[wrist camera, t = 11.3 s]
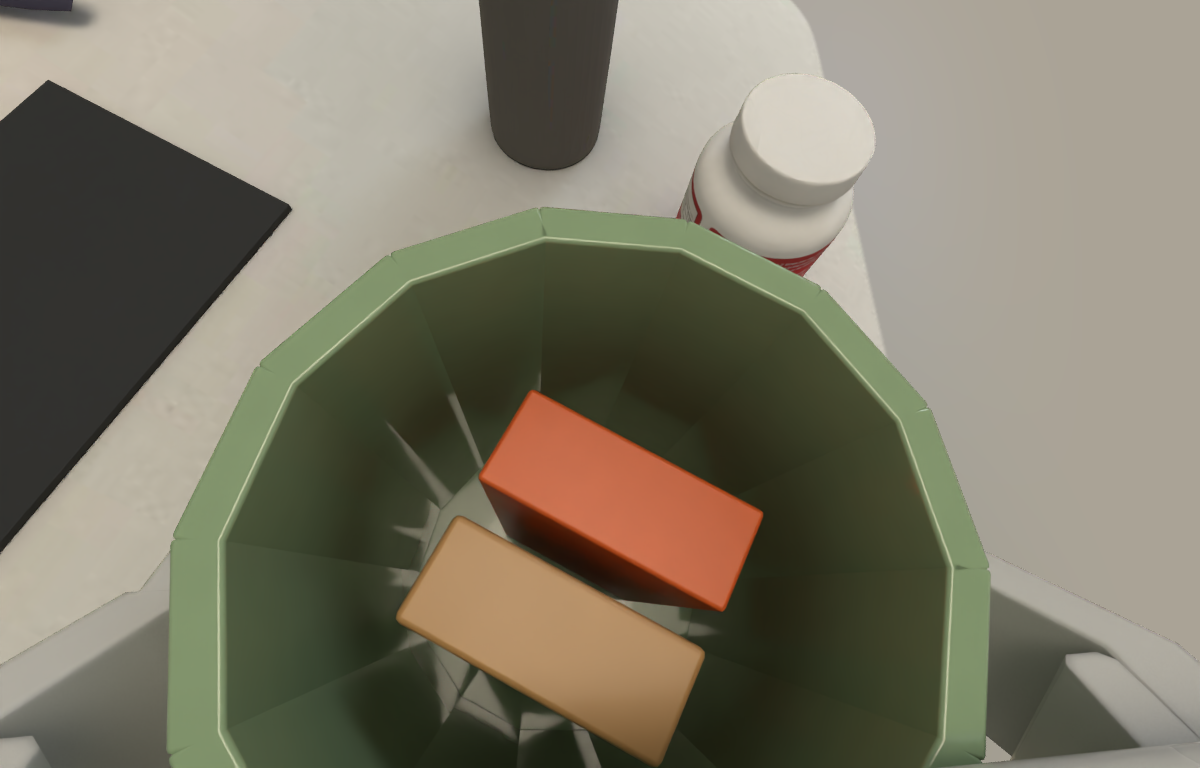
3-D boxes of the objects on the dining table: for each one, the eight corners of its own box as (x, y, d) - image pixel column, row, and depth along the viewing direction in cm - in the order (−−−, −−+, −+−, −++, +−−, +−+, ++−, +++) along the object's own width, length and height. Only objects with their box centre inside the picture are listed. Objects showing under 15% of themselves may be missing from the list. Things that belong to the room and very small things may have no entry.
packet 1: (627, 602, 13) (725, 614, 6) (505, 534, 13) (475, 478, 6) (651, 550, 13) (767, 512, 7) (532, 485, 13) (531, 385, 7)
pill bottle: (797, 310, 31) (934, 166, 20) (695, 359, 29) (786, 231, 19) (734, 214, 32) (830, 33, 22) (634, 256, 31) (685, 84, 20)
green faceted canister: (628, 812, 12) (851, 1330, 4) (341, 645, 13) (-64, 765, 4) (752, 516, 14) (1070, 409, 6) (503, 384, 15) (463, 104, 6)
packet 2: (592, 675, 12) (660, 773, 6) (465, 604, 13) (389, 620, 6) (618, 620, 13) (709, 651, 6) (495, 551, 13) (455, 510, 6)
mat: (-37, 596, 23) (-47, 596, 22) (-331, 424, 24) (-345, 421, 23) (292, 209, 29) (289, 204, 29) (53, 85, 30) (48, 79, 30)
